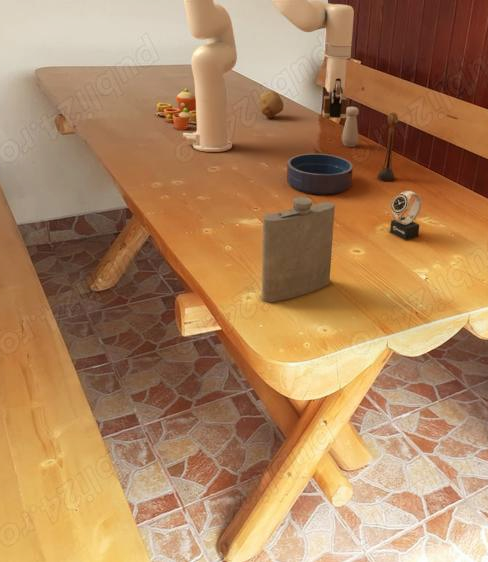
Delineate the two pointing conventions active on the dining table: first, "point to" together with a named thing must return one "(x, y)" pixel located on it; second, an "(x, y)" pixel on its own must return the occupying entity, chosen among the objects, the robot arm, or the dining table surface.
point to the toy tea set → (180, 110)
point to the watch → (399, 206)
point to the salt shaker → (350, 128)
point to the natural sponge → (270, 104)
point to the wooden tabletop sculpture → (389, 151)
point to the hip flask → (297, 250)
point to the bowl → (319, 173)
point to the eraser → (327, 107)
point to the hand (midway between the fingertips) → (334, 114)
